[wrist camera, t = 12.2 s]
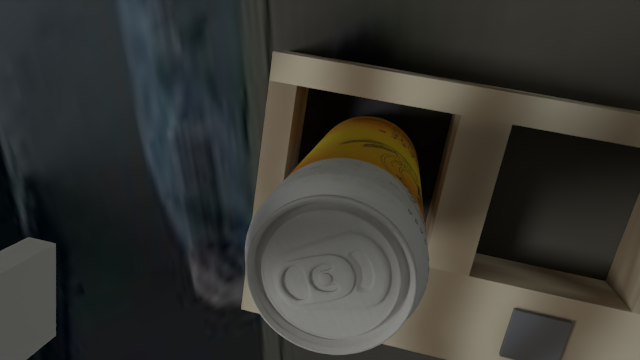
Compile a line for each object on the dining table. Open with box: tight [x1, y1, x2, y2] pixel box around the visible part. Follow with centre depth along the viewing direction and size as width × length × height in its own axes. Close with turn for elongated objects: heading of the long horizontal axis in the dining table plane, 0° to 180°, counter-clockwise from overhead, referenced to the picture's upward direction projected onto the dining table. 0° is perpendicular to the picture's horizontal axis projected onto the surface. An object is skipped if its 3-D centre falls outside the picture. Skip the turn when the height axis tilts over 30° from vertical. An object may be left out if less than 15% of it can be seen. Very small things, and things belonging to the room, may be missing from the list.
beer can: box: [245, 116, 429, 355], centre depth 21 cm, size 6×6×15 cm
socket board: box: [241, 51, 640, 360], centre depth 26 cm, size 22×16×4 cm
